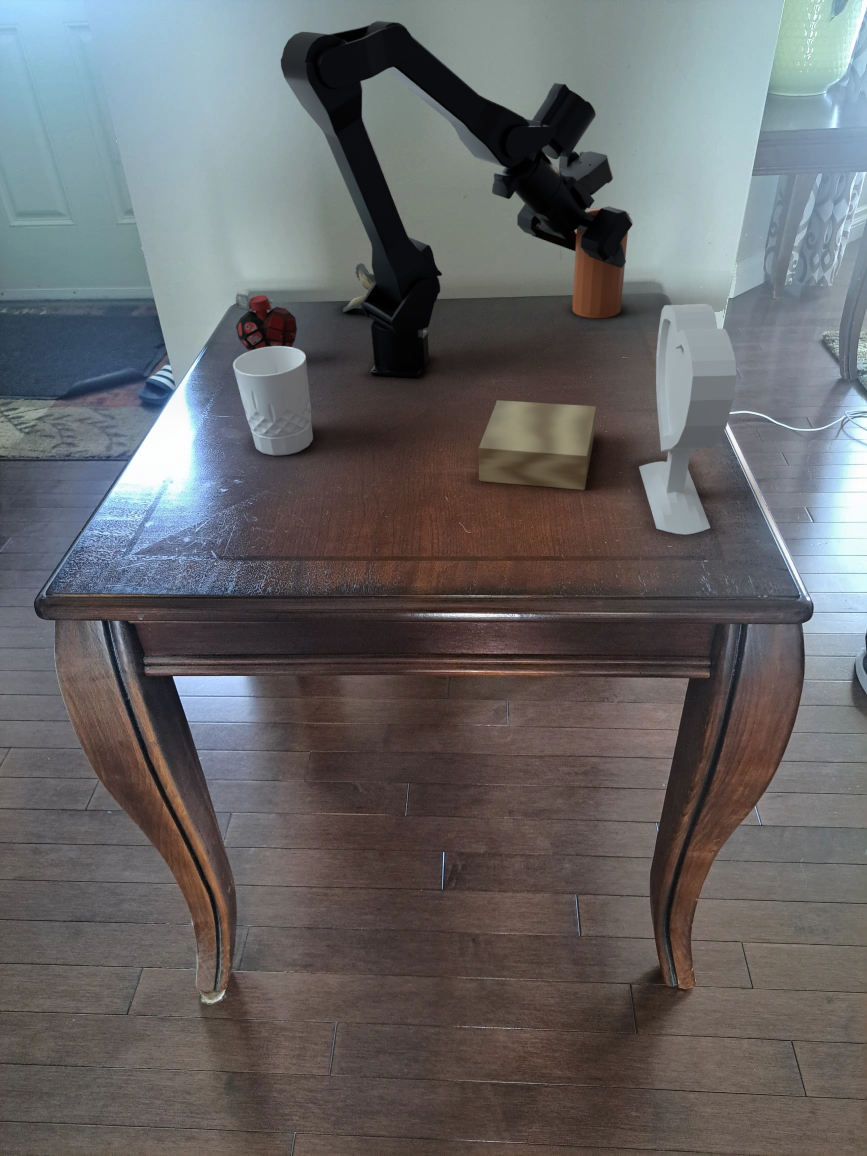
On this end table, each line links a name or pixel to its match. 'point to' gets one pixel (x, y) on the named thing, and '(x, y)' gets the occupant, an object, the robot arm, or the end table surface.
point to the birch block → (538, 444)
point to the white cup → (276, 398)
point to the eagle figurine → (366, 281)
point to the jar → (596, 282)
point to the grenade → (264, 323)
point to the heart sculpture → (687, 410)
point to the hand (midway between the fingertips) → (601, 257)
